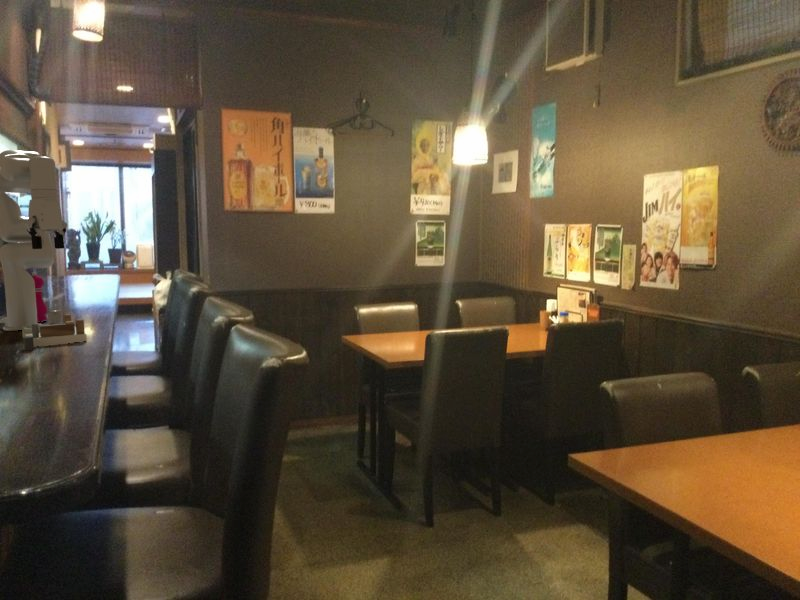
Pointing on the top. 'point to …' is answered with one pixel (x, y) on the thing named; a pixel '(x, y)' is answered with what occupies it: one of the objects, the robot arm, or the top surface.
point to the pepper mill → (39, 297)
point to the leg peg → (55, 317)
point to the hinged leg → (57, 329)
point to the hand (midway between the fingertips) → (48, 248)
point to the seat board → (34, 339)
